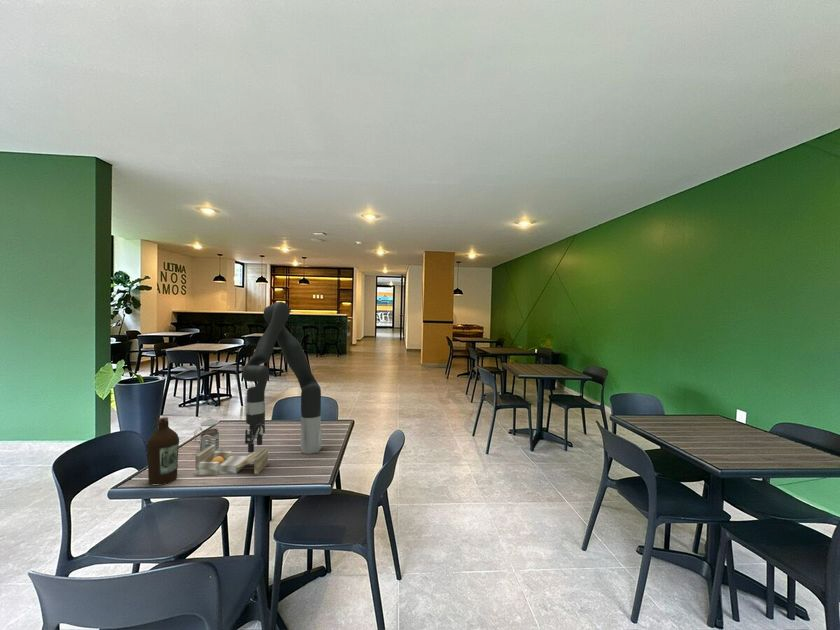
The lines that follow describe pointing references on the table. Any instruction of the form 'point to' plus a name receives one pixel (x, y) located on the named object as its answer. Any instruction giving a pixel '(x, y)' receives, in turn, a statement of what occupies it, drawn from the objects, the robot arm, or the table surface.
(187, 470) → the table surface
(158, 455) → the olive oil
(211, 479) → the table surface
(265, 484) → the table surface
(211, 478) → the table surface
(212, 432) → the french press
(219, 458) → the ball
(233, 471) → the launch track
